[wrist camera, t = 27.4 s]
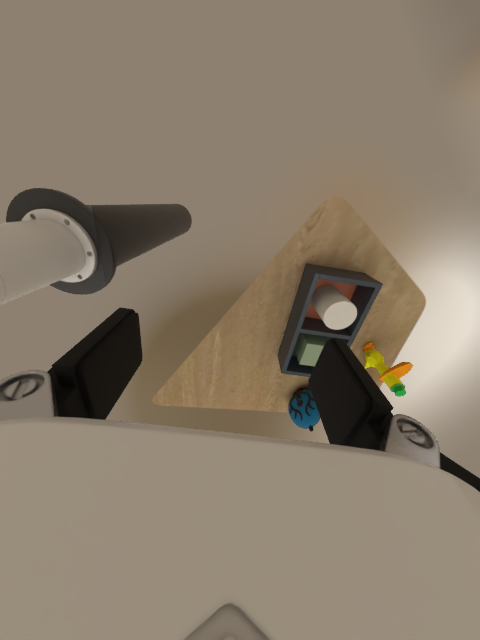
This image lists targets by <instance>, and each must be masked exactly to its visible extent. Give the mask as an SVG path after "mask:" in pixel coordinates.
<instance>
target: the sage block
mask: <svg viewBox="0 0 480 640" xmlns="http://www.w3.org/2000/svg"><path fill="white" fill-rule="evenodd" d="M326 341H329V338H328V337H326V336H319V335H313V334H306V333H300V334H299V336H298V339H297V342H296V345H295V348H294V349H295V352H296V356H297V359H298V362H299V364H300V365H308V366H315V365H316V362H317V360H318V358H319V356H320V353H321V351H322V349H323V347H324V344H325V342H326Z"/></svg>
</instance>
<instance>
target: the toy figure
mask: <svg viewBox="0 0 480 640" xmlns="http://www.w3.org/2000/svg"><path fill="white" fill-rule="evenodd" d="M362 348H363V349H365V351H366V352H365V355H364V358H365V369H366V368H368V367H370V366H372V367H375V368H376V369H377V370H378V372H379V374H380V377H379V379H380V380H381V381H382V382H385V383H386V384H387V386H388V387H389V388H390V390H391V391H392V392H395V395H396V396H403V395H405V394H406V391H405V390H404V389H405V386H404V385H403V384H402V382H401V381H400V380H399V378H401V377H402V376H404V375H405V374H407V373H408V372H409V371H410V370H411V368H412V366H413V365H412V364H411V363H409V362H402V363H399V364H397V365H396V366H394V367H392V368H390V369H389V368H388V367H387V366H386V365H385V364H384V357H383V356H382V355H381V354H380V352H378V351H375V350H374V348H375V346H374V345H372V343H371V342H368V343H366V344H365V345H364V346H363V347H362Z"/></svg>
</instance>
